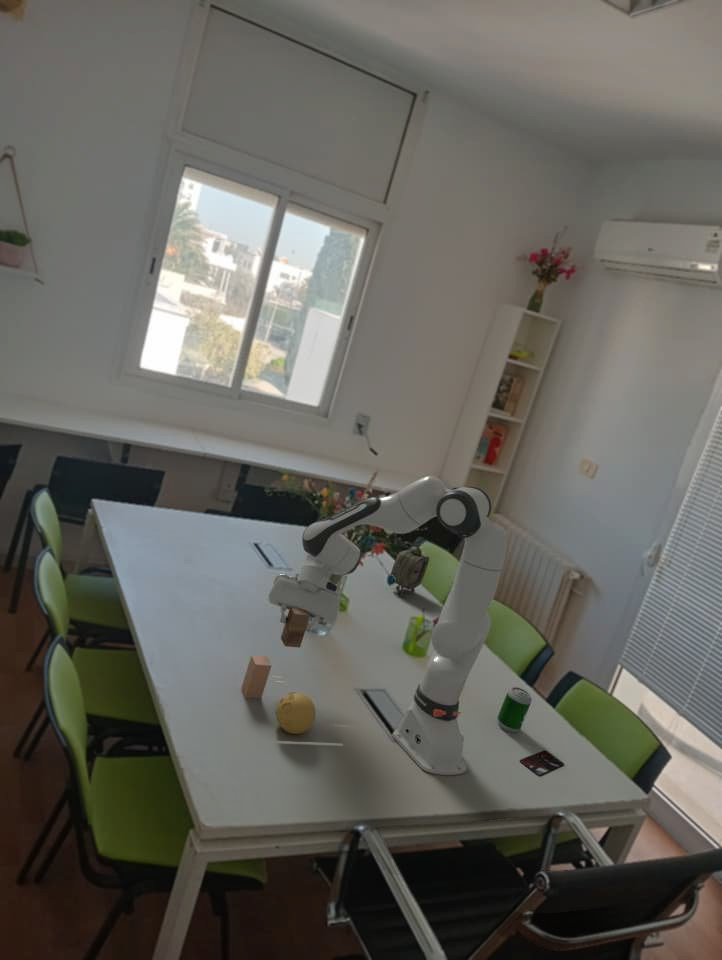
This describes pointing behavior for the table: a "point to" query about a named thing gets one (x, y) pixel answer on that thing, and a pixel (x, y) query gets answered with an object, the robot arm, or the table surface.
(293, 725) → the stress ball
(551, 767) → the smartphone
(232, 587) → the table surface
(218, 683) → the table surface
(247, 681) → the terracotta pillar
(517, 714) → the soda can
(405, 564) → the rolling backpack
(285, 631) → the walnut pillar
